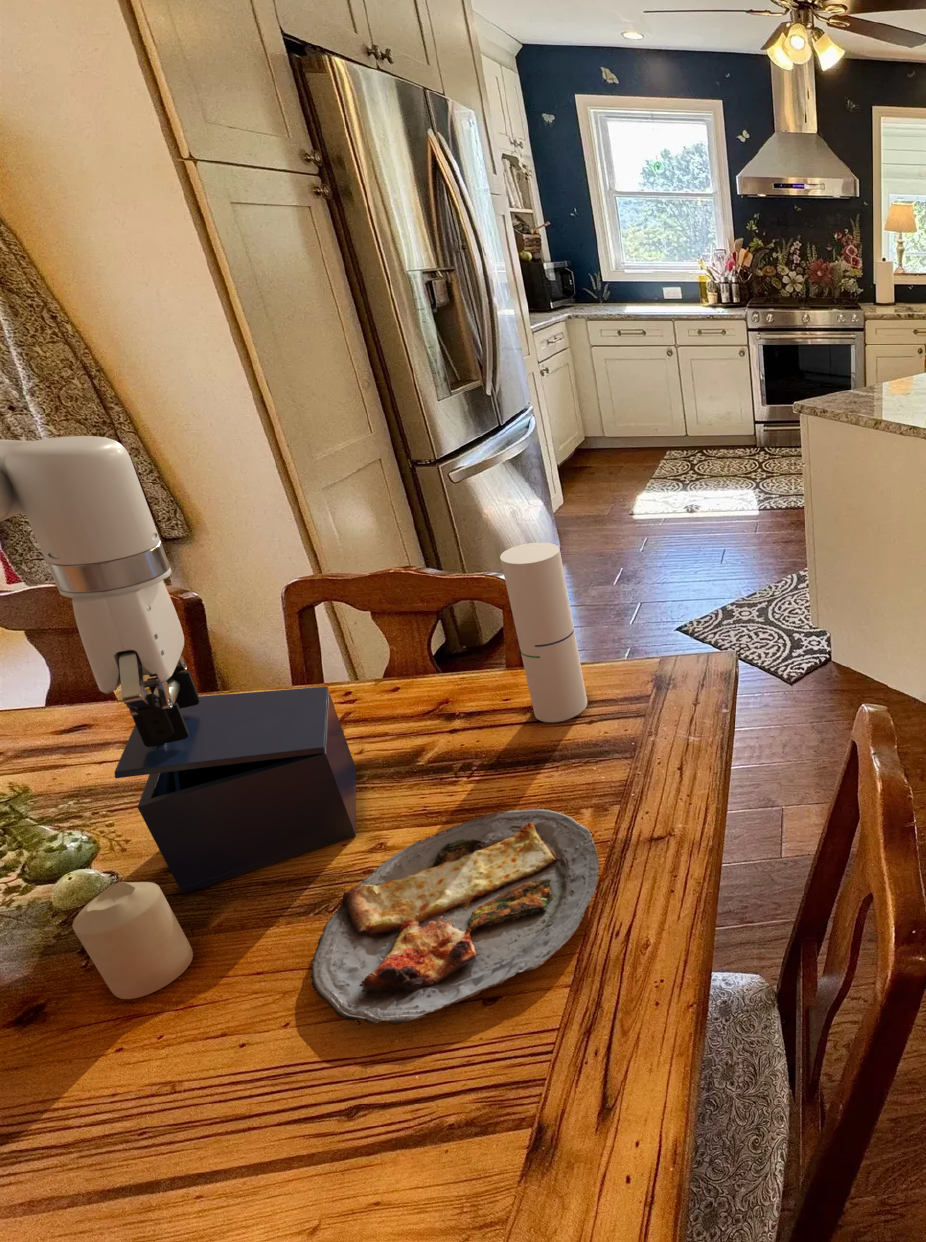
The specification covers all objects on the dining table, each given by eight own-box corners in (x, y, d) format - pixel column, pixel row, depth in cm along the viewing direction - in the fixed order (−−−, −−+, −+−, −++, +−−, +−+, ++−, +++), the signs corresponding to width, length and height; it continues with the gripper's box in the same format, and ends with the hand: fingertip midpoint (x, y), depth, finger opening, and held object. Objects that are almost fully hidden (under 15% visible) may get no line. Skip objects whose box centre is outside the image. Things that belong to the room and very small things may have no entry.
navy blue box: (182, 895, 77) (136, 807, 72) (202, 814, 87) (164, 732, 82) (356, 836, 84) (325, 753, 80) (356, 768, 95) (329, 691, 90)
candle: (130, 957, 70) (86, 880, 66) (204, 938, 72) (165, 863, 68) (99, 1009, 65) (49, 930, 61) (179, 987, 67) (135, 909, 63)
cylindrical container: (584, 718, 106) (555, 561, 96) (530, 725, 104) (494, 566, 94) (589, 690, 112) (563, 540, 102) (538, 697, 110) (506, 544, 100)
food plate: (303, 1084, 60) (290, 1057, 59) (330, 885, 78) (320, 861, 77) (621, 946, 73) (616, 921, 71) (581, 801, 91) (576, 779, 89)
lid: (114, 778, 70) (110, 729, 69) (145, 706, 80) (142, 662, 79) (324, 753, 80) (324, 709, 78) (328, 691, 90) (328, 652, 88)
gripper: (81, 543, 74) (142, 693, 81) (22, 613, 61) (101, 784, 68) (182, 532, 78) (232, 675, 85) (147, 594, 65) (210, 758, 72)
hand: (173, 722), depth 77 cm, fingers closed on lid, 6 cm apart
